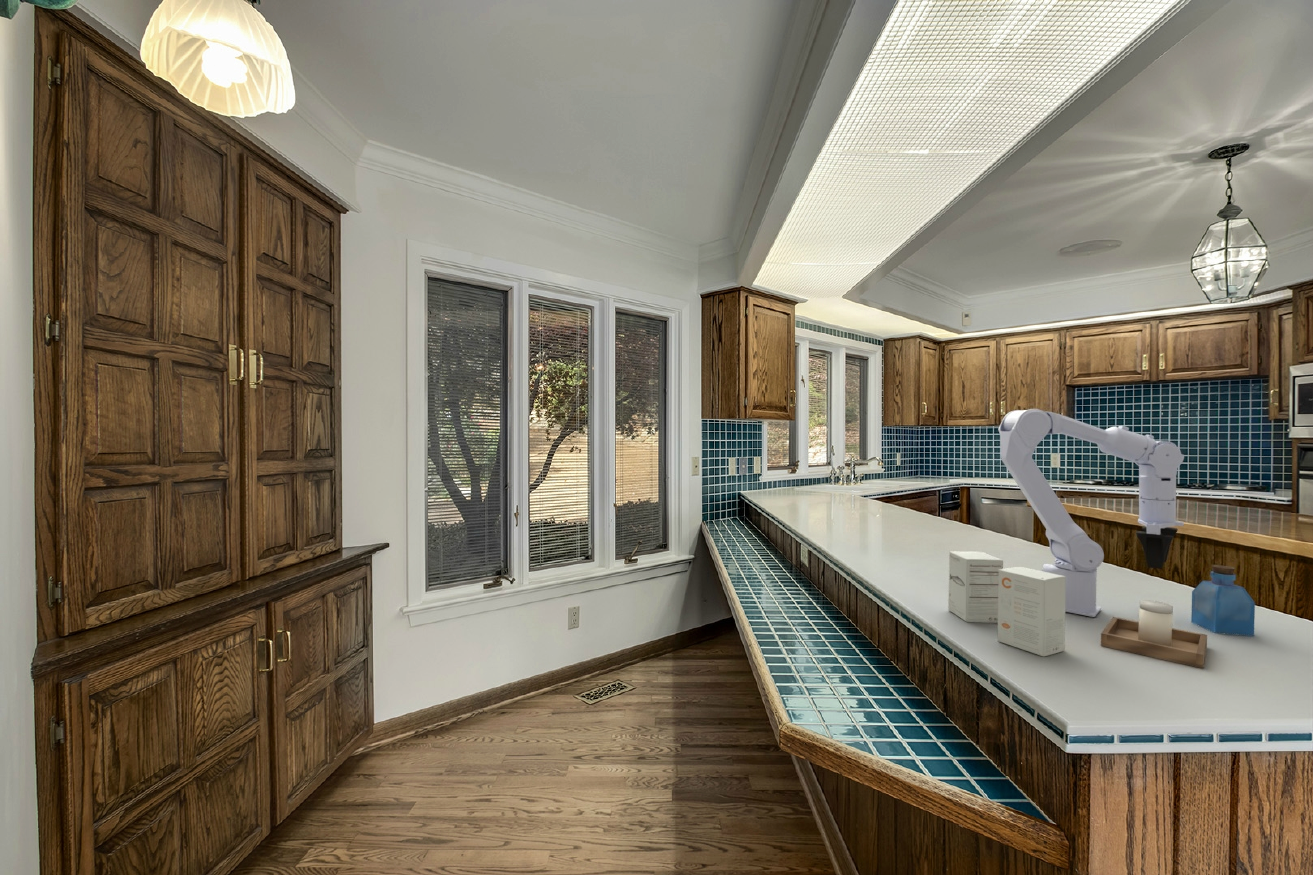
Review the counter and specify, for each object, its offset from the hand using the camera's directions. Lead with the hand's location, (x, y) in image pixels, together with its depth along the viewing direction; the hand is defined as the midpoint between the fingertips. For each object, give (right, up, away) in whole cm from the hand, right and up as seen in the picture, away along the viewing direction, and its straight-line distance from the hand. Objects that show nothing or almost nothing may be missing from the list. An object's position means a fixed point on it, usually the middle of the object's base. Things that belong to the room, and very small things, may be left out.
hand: (1157, 564), depth 117 cm
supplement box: (-39, -10, -2) cm, 40 cm away
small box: (-38, -11, -17) cm, 43 cm away
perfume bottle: (+6, -11, -8) cm, 14 cm away
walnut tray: (-16, -11, -17) cm, 25 cm away
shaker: (-16, -10, -17) cm, 25 cm away
